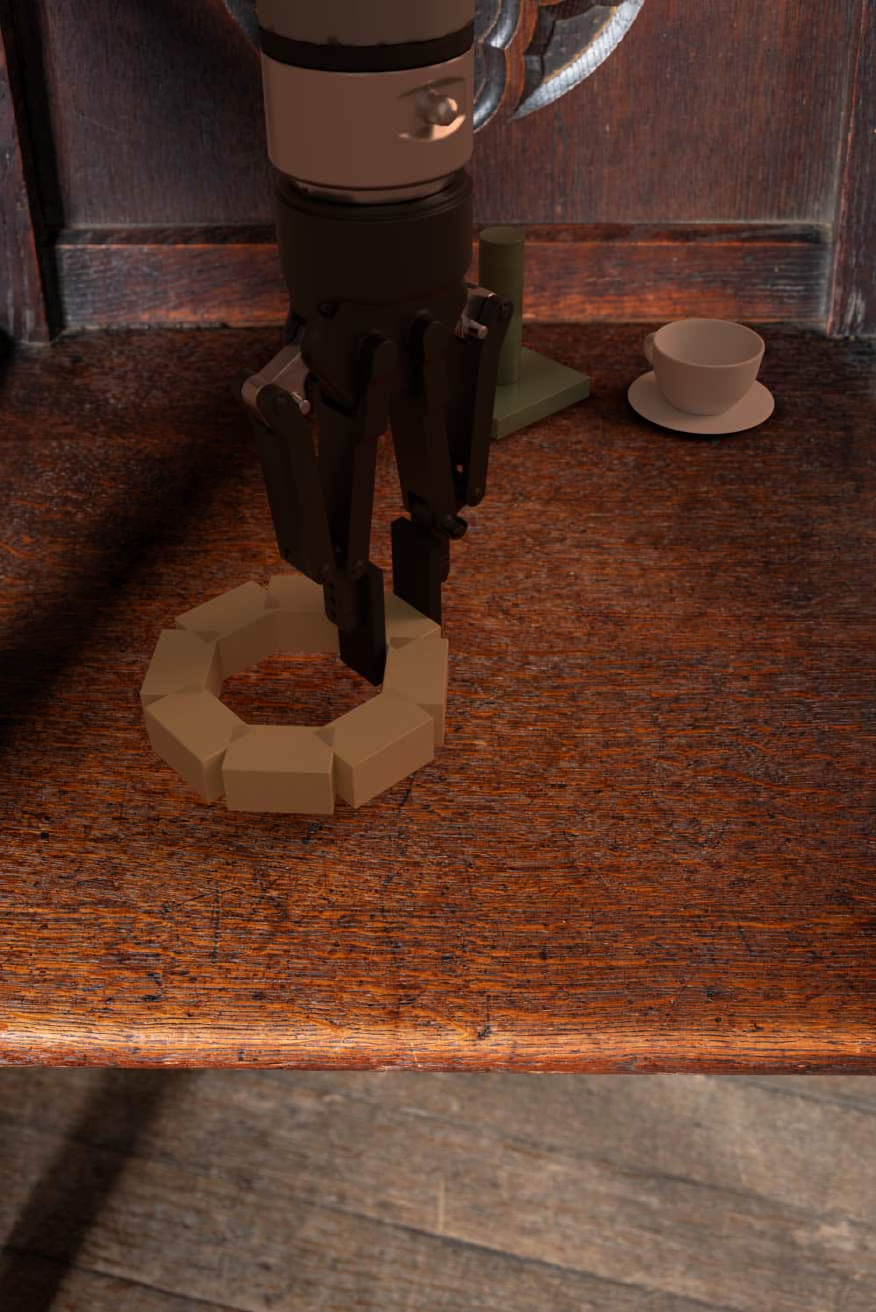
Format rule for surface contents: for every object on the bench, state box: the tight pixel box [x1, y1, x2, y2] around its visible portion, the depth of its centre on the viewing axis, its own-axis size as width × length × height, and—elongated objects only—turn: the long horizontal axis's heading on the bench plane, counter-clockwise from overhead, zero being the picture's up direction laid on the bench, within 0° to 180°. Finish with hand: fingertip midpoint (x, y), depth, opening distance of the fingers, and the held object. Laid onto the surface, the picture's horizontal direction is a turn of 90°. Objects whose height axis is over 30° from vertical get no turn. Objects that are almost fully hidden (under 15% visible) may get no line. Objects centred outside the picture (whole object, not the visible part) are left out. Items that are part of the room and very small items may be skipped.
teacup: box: [627, 318, 775, 435], centre depth 86 cm, size 10×10×5 cm
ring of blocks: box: [139, 575, 449, 816], centre depth 58 cm, size 14×14×3 cm
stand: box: [477, 225, 591, 441], centre depth 85 cm, size 9×9×12 cm
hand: (391, 653), depth 62 cm, fingers closed on ring of blocks, 3 cm apart
